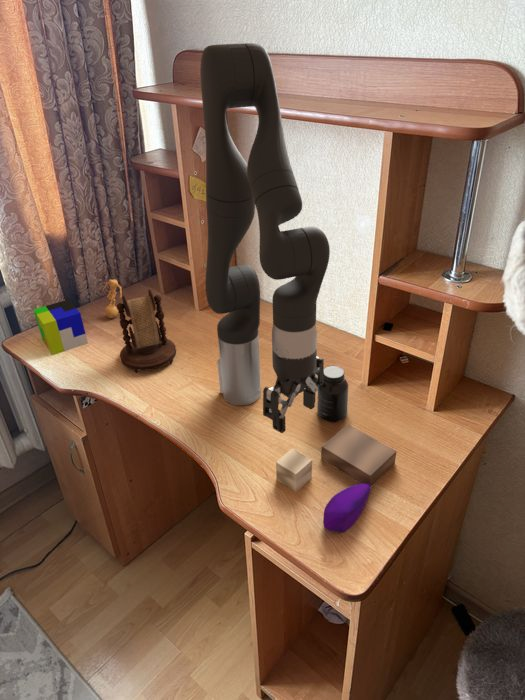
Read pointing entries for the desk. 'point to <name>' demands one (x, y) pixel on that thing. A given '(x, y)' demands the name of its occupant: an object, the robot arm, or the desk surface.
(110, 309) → the figurine
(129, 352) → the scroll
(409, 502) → the desk surface
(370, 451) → the walnut slab
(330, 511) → the purple teardrop shape
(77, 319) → the puzzle toy
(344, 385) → the supplement bottle
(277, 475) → the oak cube
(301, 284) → the robot arm
